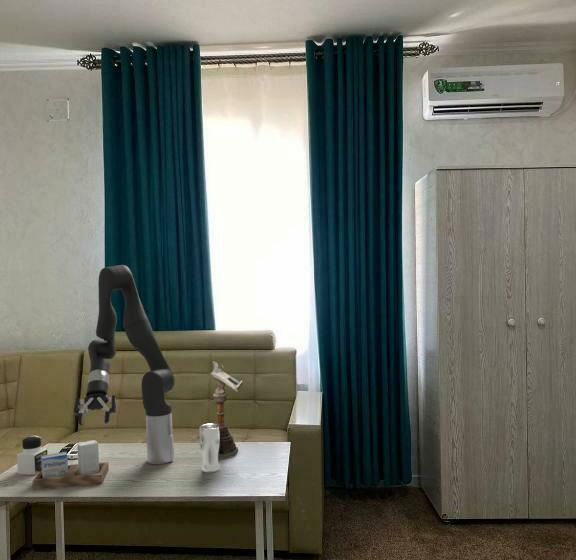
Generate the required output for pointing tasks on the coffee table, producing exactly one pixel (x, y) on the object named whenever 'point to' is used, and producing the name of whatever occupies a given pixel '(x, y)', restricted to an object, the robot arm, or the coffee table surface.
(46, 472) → the medicine box
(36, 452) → the medicine bottle
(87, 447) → the skincare box
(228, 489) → the coffee table surface
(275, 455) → the coffee table surface
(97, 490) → the coffee table surface
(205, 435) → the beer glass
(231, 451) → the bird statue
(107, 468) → the walnut pocket rack
